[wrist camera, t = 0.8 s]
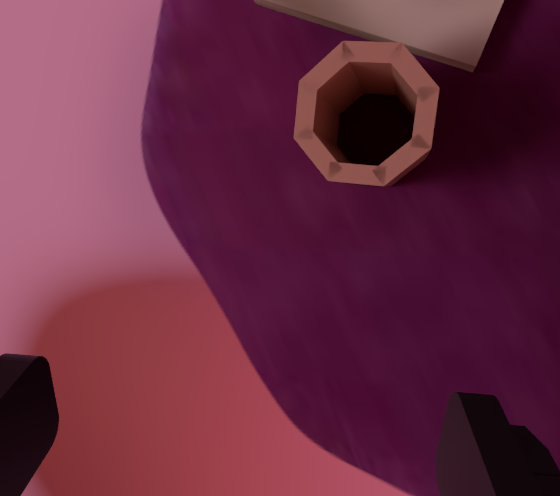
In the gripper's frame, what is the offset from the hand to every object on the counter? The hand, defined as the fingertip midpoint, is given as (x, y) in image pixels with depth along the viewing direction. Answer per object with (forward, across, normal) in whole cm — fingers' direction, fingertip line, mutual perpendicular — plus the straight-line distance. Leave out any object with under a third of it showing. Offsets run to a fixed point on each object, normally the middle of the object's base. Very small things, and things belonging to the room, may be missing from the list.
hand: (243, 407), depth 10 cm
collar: (+24, -5, -1) cm, 24 cm away
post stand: (+27, -6, -13) cm, 30 cm away
